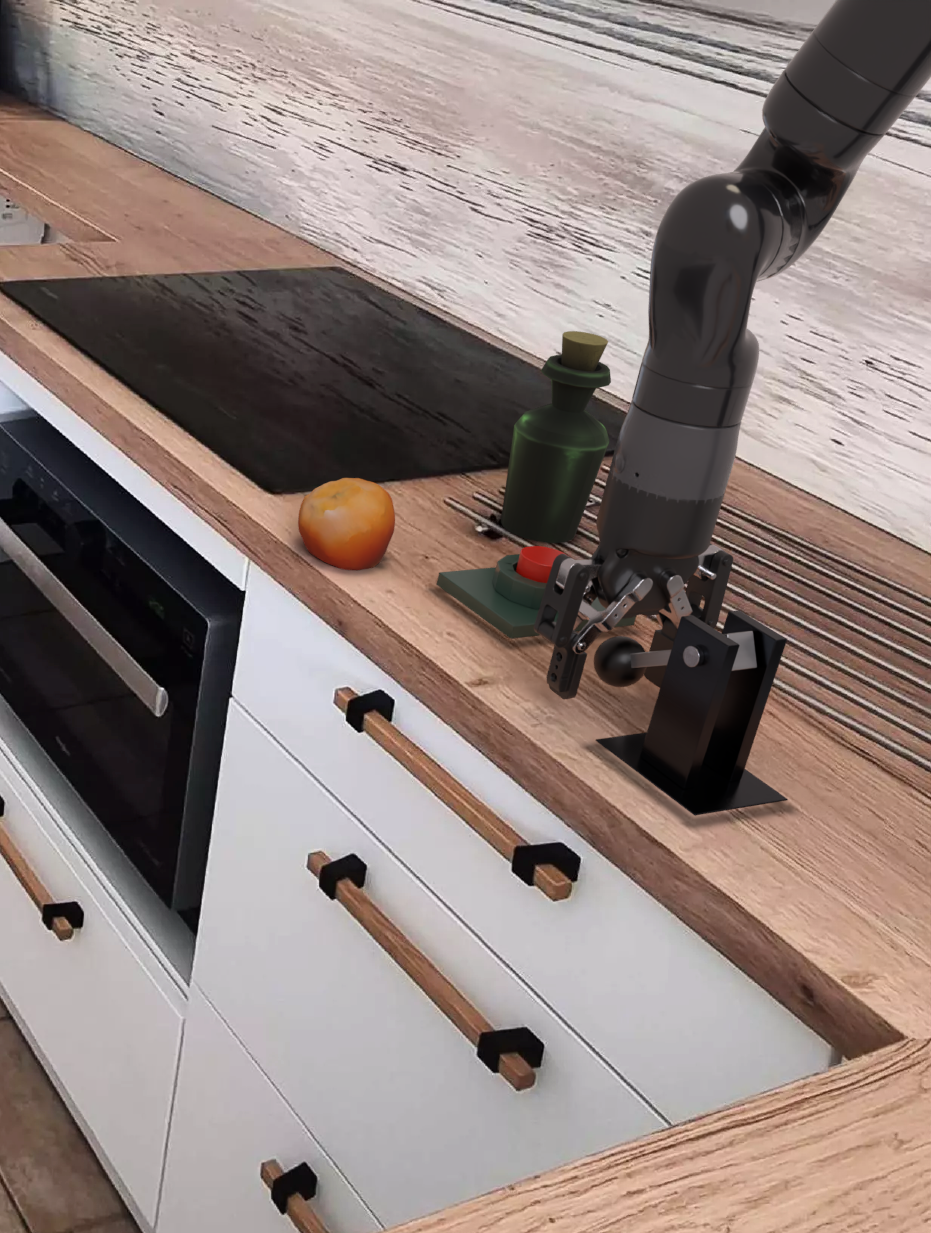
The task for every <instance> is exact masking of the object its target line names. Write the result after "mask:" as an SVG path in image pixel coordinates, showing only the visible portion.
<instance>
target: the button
mask: <svg viewBox="0 0 931 1233" xmlns="http://www.w3.org/2000/svg"><path fill="white" fill-rule="evenodd" d="M519 554H520V555H519V560H518V564H517V568H516V572H517V573H518V574H519V575H521V576H522V577H525V578H528V579H530V580H533V581H536V582H541V583H547V581H548V578H549V575H550V571H551V568H552V565H553V561H554V559H555V558H556V557H557V556H558V555H559V554H566V553H565V552H563V551H560V550H558V549H555V548H552V547H548V546H543V545H542V546H541V545H530V546H524V547H522V548H521V550H520V552H519ZM566 555H567V556H569V555H568V554H566Z"/></svg>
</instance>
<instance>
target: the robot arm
mask: <svg viewBox="0 0 931 1233" xmlns="http://www.w3.org/2000/svg"><path fill="white" fill-rule="evenodd" d="M930 79H931V0H835V1H834V2H833V3H832V5H831V6H830V7H829V9H828V10H827V11H826V13H825V14H824V15H823V16H822V18H821V19H820V21H818V23H817V25H815V27H814V29H813V30H812V32H811V33H809V35H808V37H807V38H806V39H805V40H804V42H803V43H802V44H801V46H800V47H799V49H798V50H797V52H796V53H795V54H794V56H793V57H792V58H791V59H790V61H789V63H788V64H787V65H786V66H785V68H784V69H783V71H782V72H781V73H780V75H779V76H778V78H777V79H776V81H775V82H774V84H773V85H772V87H771V88H770V90H769V91H768V93H767V96H766V97H765V99H764V102H763V104H762V108H761V117H762V122H763V125H764V128H763V129H762V131H761V132H760V134H759V135H758V137H757V139H756V140H755V142H754V143H753V145H752V146H751V149H750V150H749V152H748V153H747V154H746V155H745V156H744V158H743V160H742V161H741V162H740V163H739V164H738V166H737V167H736V168H735V169H734V170H733V171H729V172H723V173H722V172H721V173H716V174H712V175H711V174H710V175H707V176H703V177H700V178H698V179H696V180H694V181H692V182H690V183H689V184H687V185H686V186H684V187H683V188H682V189H681V190H680V191H678V193H677V194H676V195H675V196H674V198H673V199H672V200H671V202H670V203H669V205H668V206H667V208H666V210H665V212H664V214H663V216H662V218H661V220H660V222H659V225H658V228H657V231H656V234H655V238H654V242H653V244H652V245H653V246H652V251H651V258H650V269H649V270H650V271H649V287H648V288H649V289H648V310H647V311H648V312H647V314H648V317H647V318H648V338H647V339H648V340H647V343H646V346H645V349H644V353H643V356H642V359H641V363H640V366H639V371H638V375H637V378H636V382H635V385H634V390H633V393H632V398H631V401H630V404H629V407H628V410H627V413H626V415H625V417H624V419H623V422H622V423H621V426H620V430H619V432H618V436H617V440H616V443H615V447H614V451H613V455H612V458H611V463H610V466H609V470H608V474H607V478H606V482H605V485H604V488H603V489H604V490H603V493H602V497H601V500H600V505H599V508H598V513H597V515H596V520H595V524H596V530H597V533H598V545H597V547H596V548H595V551H594V552H593V554H592V555H591V556H590V558H589V559H574V558H572V557H571V556H569V555H568V554H566V553H565V554H559V555H558V556H557V557H556V558H555V559H554V561H553V565H552V568H551V571H550V575H549V578H548V581H547V584H546V588H545V591H544V594H543V598H542V601H541V604H540V607H539V611H538V614H537V617H536V621H535V624H534V631H535V632H536V633H538V634H539V635H540V637H542V638H543V639H545V640H546V641H548V642H549V643H551V644H552V645H554V646H553V649H552V654H551V657H550V662H549V666H548V669H547V673H546V678H545V679H546V684H548V688H549V690H550V691H551V692H553V693H554V694H555V695H556V696H558V697H559V698H561V699H562V700H572V699H575V698H576V697H577V694H578V690H579V687H580V682H581V678H582V675H583V672H584V668H585V665H586V660H587V657H588V653H587V652H586V651H587V650H589V647H590V646H591V645H592V644H593V643H594V642H595V641H596V640H597V639H598V637H599V636H600V635H601V634H603V633H607V632H610V631H612V630H613V629H614V628H615V627H614V626H615V625H616V624H617V623H618V622H619V621H620V620H621V618H622V619H624V618H632V617H635V616H636V617H637V616H641V615H644V616H649V617H650V616H651V617H652V616H655V617H656V619H657V621H658V624H659V626H660V627H661V628H659V629H655V630H654V633H653V636H652V640H651V644H650V647H649V651H648V652H651V651H662V650H672V646H673V643H674V640H675V636H676V633H677V629H678V626H679V623H680V619H681V617H682V616H691V615H693V616H695V617H696V618H698V619H699V620H701V621H703V622H704V623H706V624H707V625H709V626H711V627H712V628H714V629H715V628H716V627H717V625H718V622H719V618H720V615H721V610H722V607H723V602H724V599H725V594H726V591H727V586H728V582H729V579H730V575H731V571H732V567H733V563H734V557H733V555H732V554H730V553H729V552H727V551H726V550H724V549H722V548H720V547H719V546H717V545H715V544H712V543H711V542H712V539H713V535H714V532H715V528H716V524H717V521H718V518H719V515H720V511H721V508H722V505H723V500H724V497H725V494H726V490H727V487H728V484H729V480H730V477H731V473H732V470H733V467H734V463H735V459H736V455H737V451H738V442H739V436H740V430H741V426H742V420H743V418H744V414H745V411H746V407H747V404H748V400H749V398H750V394H751V390H752V386H753V383H754V379H755V377H756V373H757V369H758V364H759V358H760V342H759V341H758V338H757V337H756V335H755V334H754V333H753V332H752V331H751V330H750V329H749V328H748V322H749V316H750V310H751V303H752V299H753V294H754V290H755V287H756V284H757V282H762V281H765V280H769V279H771V278H774V277H776V276H777V275H780V274H782V273H783V272H785V271H786V270H788V269H789V268H790V267H792V266H793V265H795V263H796V262H798V260H800V259H801V257H803V255H805V253H806V252H807V251H808V250H809V249H810V248H811V247H812V246H813V244H814V243H815V242H816V241H817V239H818V238H819V237H820V235H821V234H822V232H823V231H824V229H825V228H826V226H827V225H828V223H829V222H830V220H831V219H832V217H833V215H834V213H836V210H837V209H838V208H839V205H840V203H841V202H842V200H843V198H844V197H845V195H846V193H847V192H848V190H849V188H850V186H851V184H853V181H854V179H855V177H856V175H857V173H858V171H859V169H860V167H861V165H862V164H863V161H864V160H865V159H866V157H867V156H868V154H869V153H870V152H871V151H872V150H873V149H874V148H875V147H876V146H877V145H878V144H879V142H881V140H882V139H883V138H884V137H885V136H886V133H888V132H889V131H890V129H891V128H892V127H893V125H895V123H896V122H897V121H898V119H899V118H900V117H901V116H902V114H903V113H904V112H905V111H906V110H907V108H908V107H909V106H910V105H911V103H912V102H913V101H914V99H915V98H916V97H917V96H918V94H919V93H920V92H921V91H922V90H923V88H924V87H925V85H927V83H928V82H929V81H930ZM567 555H568V556H567ZM685 585H686V586H685ZM685 587H686V588H685ZM597 597H598V600H599V602H600V604H601V605H602V606H603V607H604V608H606V610H604V611H597V610H596V609H594V608H593V607H591V605H592V603H593V601H594V600H595V599H596V598H597ZM703 598H704V604H703V608H702V607H701V603H702V599H703ZM557 611H558V614H559V615H558V619H557V622H554V619H555V616H556V613H557ZM586 619H587V620H589V621H588V623H587V624H586V625H585V626H584V627H583V629H582V630H581V631H575V629H576V628H577V627H578V626H579V625H580V624H581V623H582V621H584V620H586ZM666 666H667V665H663V666H651V667H647V668H646V671H645V673H644V675H643V677H644V678H645V679H646V680H648V681H649V682H650V683H652V684H653V685H655V686H656V687H657V688H660V687H661V683H662V680H663V677H664V673H665V670H666Z"/></svg>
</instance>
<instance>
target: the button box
mask: <svg viewBox="0 0 931 1233" xmlns="http://www.w3.org/2000/svg"><path fill="white" fill-rule="evenodd" d="M519 555H520V553H517V554H515V553H514V554H507V555H505V556H503V557H501V559H499V560H497V562H496V565H495V566H493V567H485V568H483V567H482V568H473V569H462V570H461V569H460V570H452V571H439V573H438V576H437V580H436V586H438V587H439V588H441V589H442V590H443V591H444V592H446V593H447V594H449V595H450V596H451V597H453V598H454V599H456V600H457V601H458V602H459V603H461V604H462V605H464V606H465V607H467V608H468V609H469V610H470V611H472V612H474V613H475V614H476V615H477V616H479V617H480V618H482V620H484V621H485V622H487V623H488V624H490V625H491V626H493V627H494V628H495V629H497V630H498V631H499V632H501V633H502V634H504V636H506V637H508V639H511V640H512V639H521V638H529V637H539V636H540V637H541V635H539V634H538V633H536V632H535V631H534V624H535V621H536V617H537V614H538V611H539V607H540V604H541V601H542V598H543V594H544V591H545V588H546V584H547V583H541V582H536V581H533V580H530V579H528V578H525V577H522V576H521V575H519V574H518V573H517V572H516V568H517V564H518V560H519ZM591 607H593V608H594V609H596V610H597V611H604V610H606V608H604V607H603V606H602V605H601V604H600V602H599V600H598V597H597V598H596V599H595V600H594V601H593V603H592V605H591ZM558 615H559V614H558V611H557V613H556V616H555V619H554V622H557V619H558ZM636 619H637V616H635V617H632V618H624V619H622V618H621V620H620V621H619V622H618V623H617V624H616V625H615V626H614V628H620V627H628V626H629V627H630V626H635V623H636ZM588 621H589V620H587V619H586V620H584V621H582V623H581V624H580V625H579V626H578V627H577V628H576V629H575V631H576V632H580V631H581V630H582V629H583V627H584V626H585V625H586V624H587V623H588Z"/></svg>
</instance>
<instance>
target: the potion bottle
mask: <svg viewBox="0 0 931 1233" xmlns="http://www.w3.org/2000/svg"><path fill="white" fill-rule="evenodd" d="M561 336H562V337H561V354H555V355H551V356H549V357H548V358H547V360H546V361H545V363H544V364H543V366H542V368H541V369H540V372H541V373H542V374H543V375H544V376H545V377H547V378H549V379H550V380H551V381H550V382H551V386H550V387H551V403H548V404H545V405H542V406H539V407H536V408H532V409H529V410H526V411H525V412H523V414H521V416H520V417H519V419H517V421H516V422H515V423H514V425H513V430H512V439H511V445H510V453H509V461H508V467H507V473H506V474H507V475H506V479H505V480H506V481H505V487H504V488H505V489H504V494H503V502H502V509H501V515H500V524H501V525H502V528H504V529H505V530H507V531H508V532H509V533H511V534H513V535H516V536H518V537H520V538H523V539H526V540H531V541H535V542H538V543H539V542H540V543H548V544H549V543H550V544H561V543H568V542H571V541H573V540H574V538H575V537H576V535H577V532H578V529H579V527H580V524H581V521H582V518H583V516H584V512H585V510H586V507H587V505H588V502H589V499H590V496H591V494H592V490H593V488H594V485H595V482H596V480H597V477H598V474H599V472H600V469H601V466H602V463H603V461H604V458H605V455H606V453H607V449H608V446H609V444H610V438H609V435H608V431H607V429H606V426H605V425H604V424H603V423H601V421H599V420H598V419H597V418H596V417H594V415H593V414H591V413H590V412H589V411H587V409H586V408H587V406H588V405H589V403H590V401H591V399H592V397H593V395H594V393H595V391H596V390H597V389H599V388H604V387H608V386H610V384H611V383H612V379H611V369H610V368H609V366H608V365H606V364H604V363H603V362H601V361H600V360H601V358H602V356H603V354H604V352H605V350H606V348H607V346H608V343H609V340H608V339H607V338H605V337H603V336H601V335H598V334H594V333H590V332H587V331H580V330H579V331H578V330H568V331H564V332H563V333H562V335H561Z"/></svg>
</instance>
